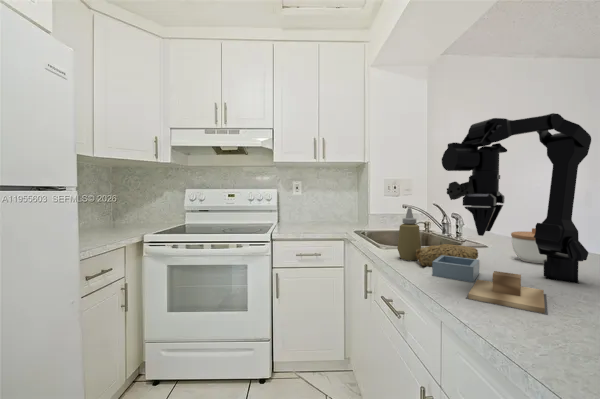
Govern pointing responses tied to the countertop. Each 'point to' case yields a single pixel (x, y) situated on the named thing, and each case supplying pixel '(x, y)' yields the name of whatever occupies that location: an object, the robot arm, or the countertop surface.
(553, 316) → the countertop surface
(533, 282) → the countertop surface
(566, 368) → the countertop surface
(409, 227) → the squeeze bottle
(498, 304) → the rubber mat
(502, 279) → the oak lid
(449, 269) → the ceramic dish
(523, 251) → the lidded bowl
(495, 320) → the countertop surface
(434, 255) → the sponge
